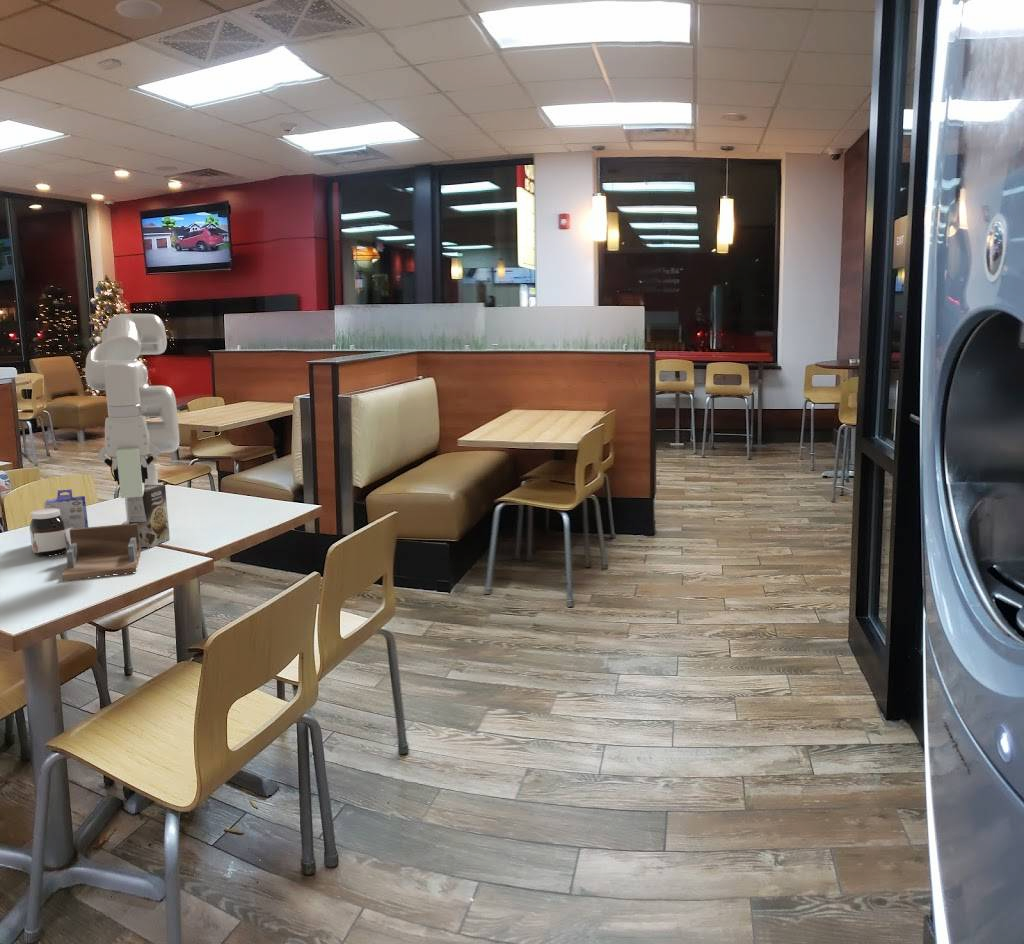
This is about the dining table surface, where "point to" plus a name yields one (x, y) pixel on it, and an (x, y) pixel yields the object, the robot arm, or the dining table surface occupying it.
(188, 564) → the dining table surface
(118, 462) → the pale green box
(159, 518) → the coffee box
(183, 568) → the dining table surface
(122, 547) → the shelf
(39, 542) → the spread jar
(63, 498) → the ink cartridge box
